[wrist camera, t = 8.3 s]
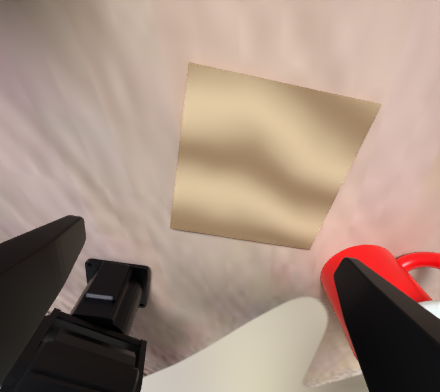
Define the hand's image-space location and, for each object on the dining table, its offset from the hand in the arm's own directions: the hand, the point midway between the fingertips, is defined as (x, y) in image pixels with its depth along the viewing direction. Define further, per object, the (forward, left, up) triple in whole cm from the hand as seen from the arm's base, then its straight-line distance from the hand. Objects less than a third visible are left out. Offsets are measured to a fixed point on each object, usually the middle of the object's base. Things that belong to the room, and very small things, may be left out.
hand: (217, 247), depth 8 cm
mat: (-2, -4, -12) cm, 13 cm away
